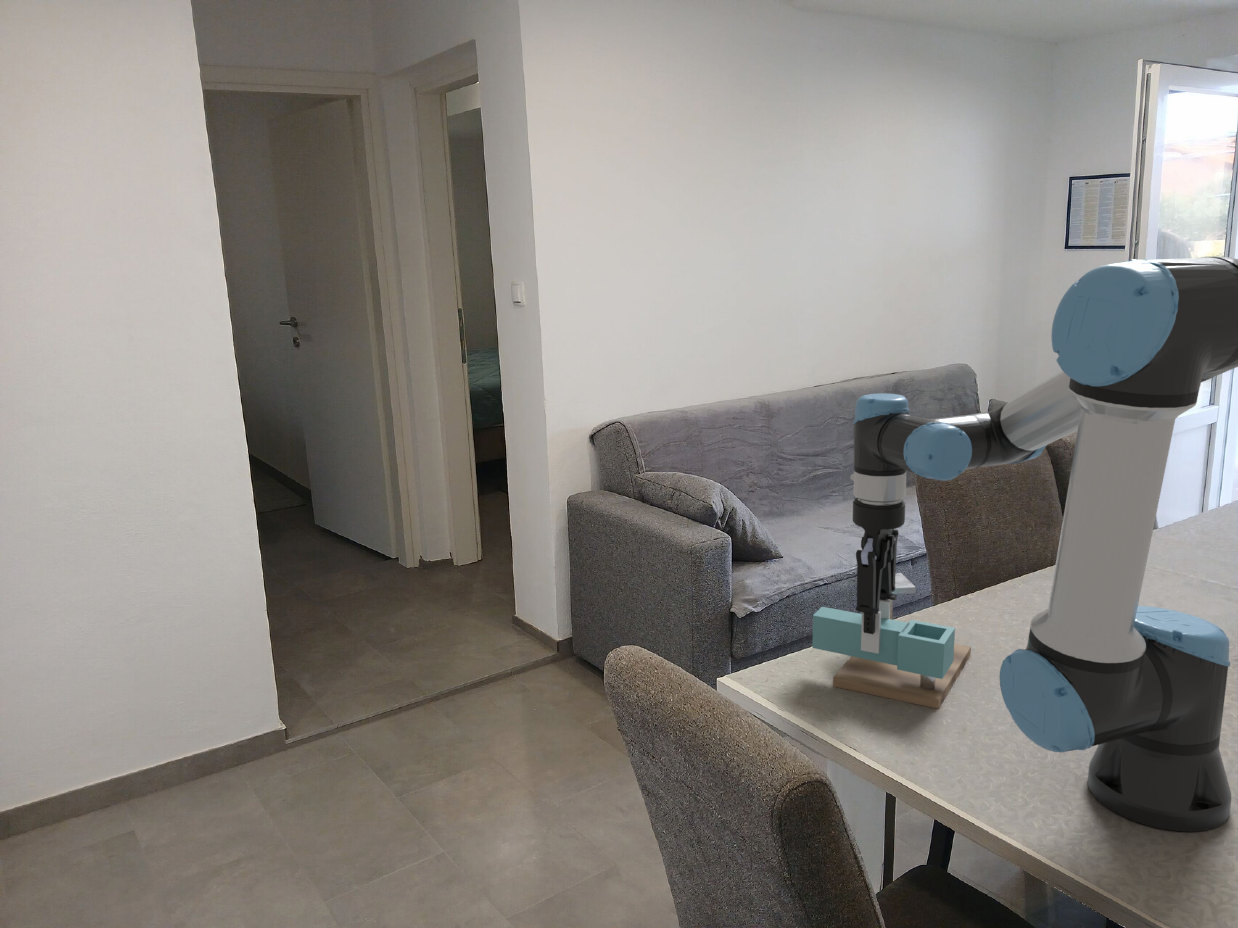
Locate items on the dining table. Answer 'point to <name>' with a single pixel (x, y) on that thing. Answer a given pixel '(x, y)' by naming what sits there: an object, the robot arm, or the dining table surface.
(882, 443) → the robot arm
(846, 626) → the link
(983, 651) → the dining table surface
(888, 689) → the board
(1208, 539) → the dining table surface
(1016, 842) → the dining table surface
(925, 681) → the cylinder
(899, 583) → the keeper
